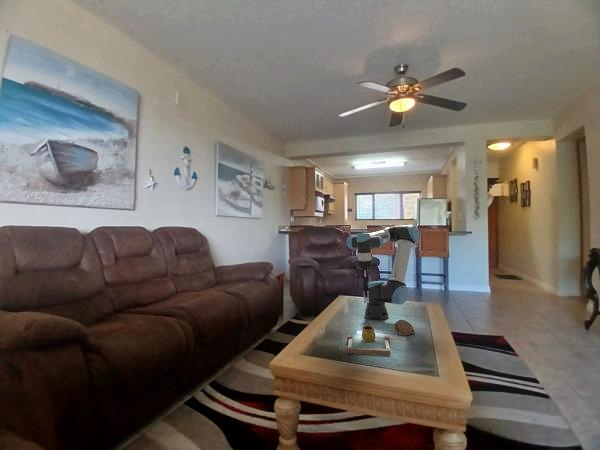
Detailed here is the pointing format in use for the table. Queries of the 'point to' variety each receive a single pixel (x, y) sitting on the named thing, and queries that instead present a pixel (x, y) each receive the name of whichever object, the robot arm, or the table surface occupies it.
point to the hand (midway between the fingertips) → (366, 302)
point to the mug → (368, 334)
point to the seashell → (403, 328)
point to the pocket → (369, 350)
